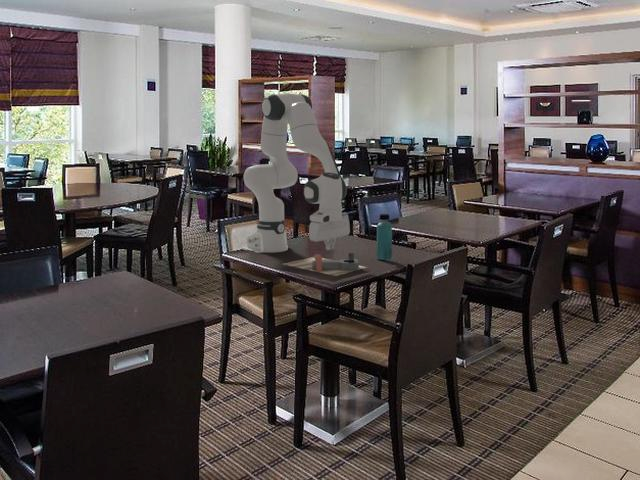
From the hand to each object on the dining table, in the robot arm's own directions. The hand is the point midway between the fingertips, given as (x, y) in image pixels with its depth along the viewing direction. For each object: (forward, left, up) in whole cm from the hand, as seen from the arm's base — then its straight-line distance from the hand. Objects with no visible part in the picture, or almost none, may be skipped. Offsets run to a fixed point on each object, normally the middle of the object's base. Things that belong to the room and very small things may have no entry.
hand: (329, 249), depth 257 cm
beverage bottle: (+8, +25, -8) cm, 27 cm away
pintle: (+8, +4, -8) cm, 12 cm away
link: (+4, -1, -7) cm, 8 cm away
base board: (-3, 0, -8) cm, 8 cm away
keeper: (-1, -6, -7) cm, 9 cm away
